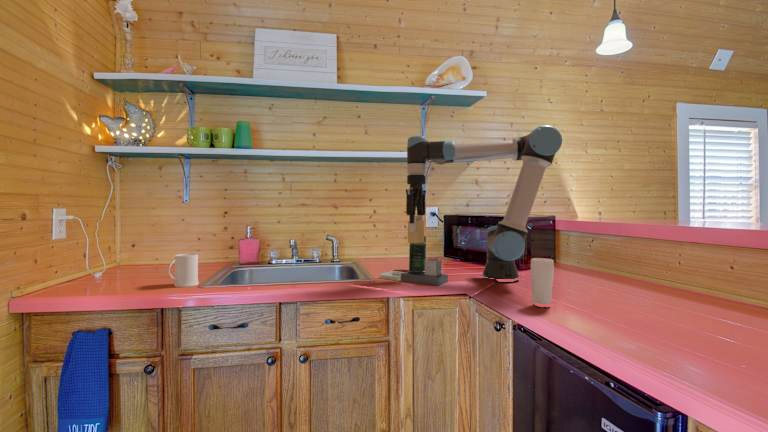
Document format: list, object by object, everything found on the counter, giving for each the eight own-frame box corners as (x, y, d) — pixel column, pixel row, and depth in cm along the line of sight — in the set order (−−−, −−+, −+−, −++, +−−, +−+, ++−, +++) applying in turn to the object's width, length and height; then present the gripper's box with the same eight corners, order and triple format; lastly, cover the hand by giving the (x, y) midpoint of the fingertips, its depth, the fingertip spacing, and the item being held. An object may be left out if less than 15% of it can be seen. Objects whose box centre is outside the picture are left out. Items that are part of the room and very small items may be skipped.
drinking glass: (546, 303, 121) (547, 257, 121) (557, 309, 114) (558, 260, 114) (526, 303, 121) (527, 257, 120) (535, 309, 114) (536, 260, 114)
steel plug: (441, 282, 150) (441, 258, 149) (436, 284, 145) (436, 259, 145) (430, 280, 152) (430, 257, 152) (424, 282, 148) (424, 258, 148)
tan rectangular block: (424, 242, 154) (424, 218, 153) (418, 243, 149) (418, 219, 149) (413, 241, 156) (413, 218, 156) (407, 242, 152) (407, 218, 152)
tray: (410, 278, 162) (410, 272, 162) (397, 282, 153) (397, 276, 153) (392, 276, 167) (392, 270, 167) (379, 280, 158) (379, 274, 157)
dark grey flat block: (447, 284, 150) (447, 274, 150) (438, 288, 143) (438, 278, 143) (411, 279, 159) (411, 270, 159) (400, 283, 152) (400, 273, 152)
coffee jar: (425, 274, 172) (425, 234, 172) (408, 273, 173) (408, 234, 173) (426, 271, 181) (426, 233, 181) (410, 270, 183) (410, 233, 182)
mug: (173, 289, 137) (173, 257, 137) (161, 287, 142) (160, 255, 141) (203, 284, 147) (203, 254, 147) (190, 281, 152) (190, 252, 151)
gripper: (418, 176, 162) (418, 229, 162) (397, 173, 147) (397, 232, 147) (434, 175, 158) (433, 230, 158) (414, 172, 143) (413, 232, 143)
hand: (416, 231), depth 153 cm, fingers closed on tan rectangular block, 5 cm apart
